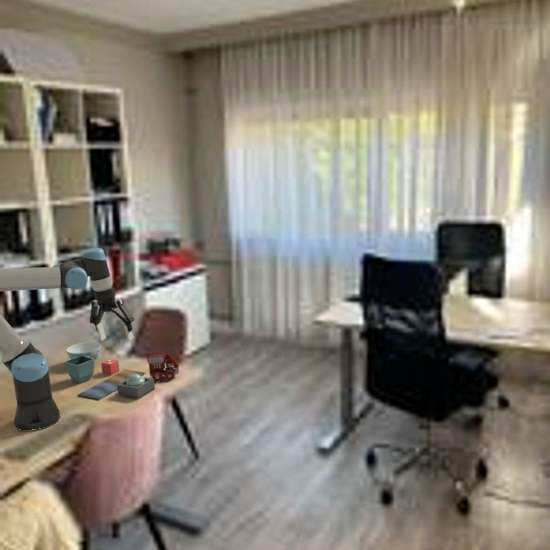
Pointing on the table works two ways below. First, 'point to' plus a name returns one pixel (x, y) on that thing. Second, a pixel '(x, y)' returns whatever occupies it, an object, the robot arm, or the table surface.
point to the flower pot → (80, 368)
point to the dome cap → (135, 380)
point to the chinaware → (84, 350)
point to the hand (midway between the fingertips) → (116, 339)
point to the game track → (108, 385)
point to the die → (110, 367)
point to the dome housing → (136, 389)
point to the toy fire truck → (162, 367)
